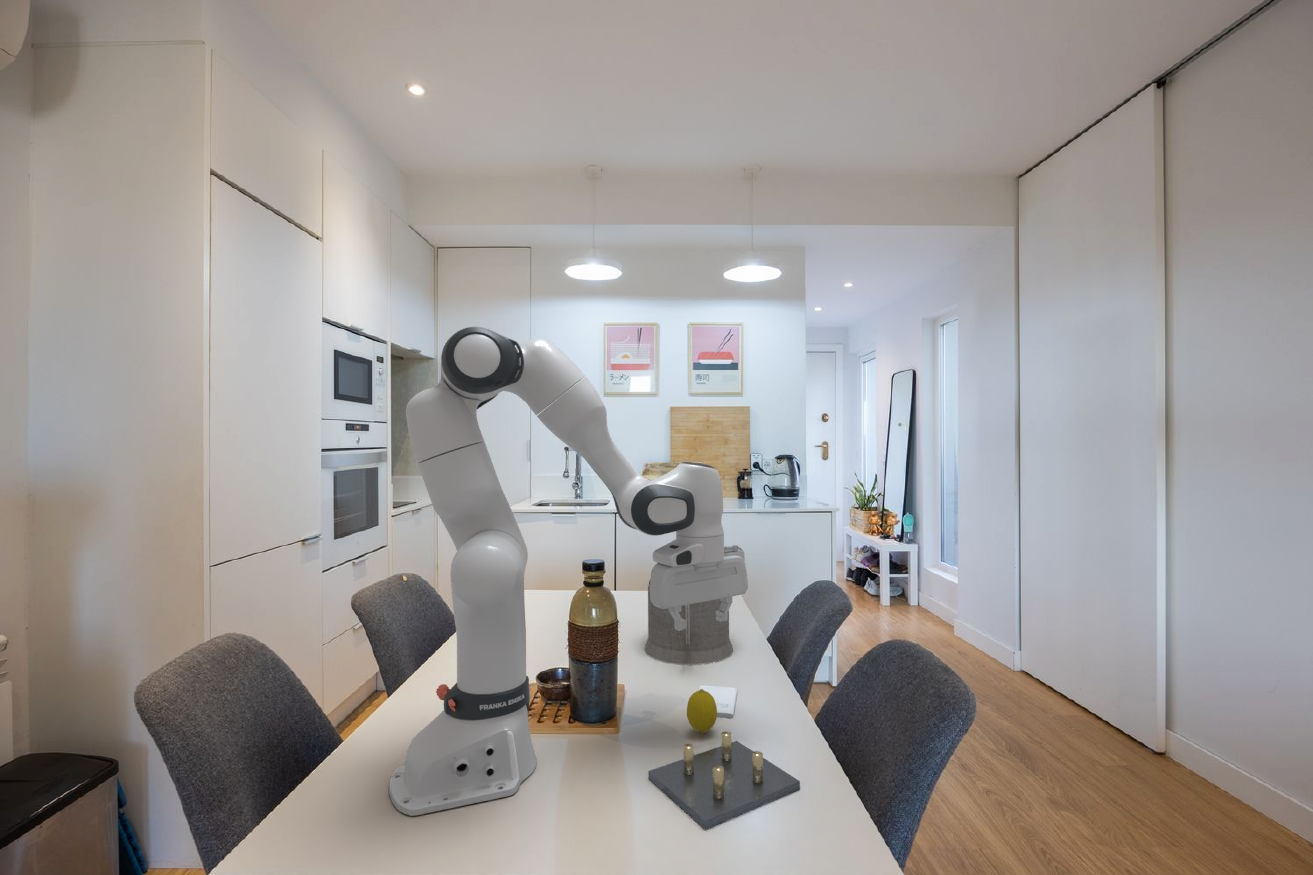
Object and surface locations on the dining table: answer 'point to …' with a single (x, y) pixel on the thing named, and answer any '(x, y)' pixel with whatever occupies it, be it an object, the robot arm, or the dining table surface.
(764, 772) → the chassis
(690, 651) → the pitcher
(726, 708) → the external hard drive
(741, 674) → the dining table surface
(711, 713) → the lemon
